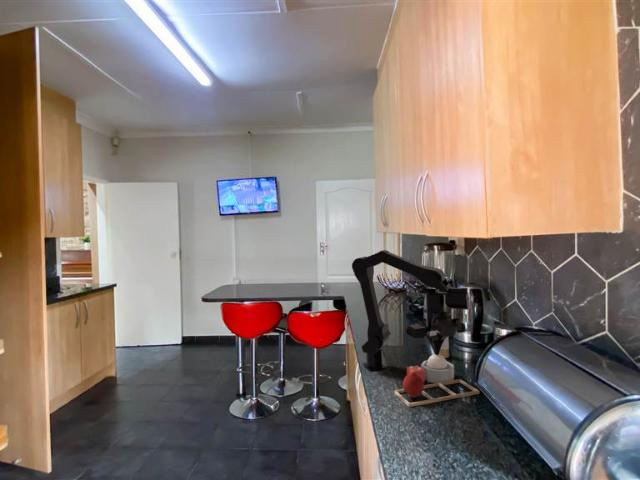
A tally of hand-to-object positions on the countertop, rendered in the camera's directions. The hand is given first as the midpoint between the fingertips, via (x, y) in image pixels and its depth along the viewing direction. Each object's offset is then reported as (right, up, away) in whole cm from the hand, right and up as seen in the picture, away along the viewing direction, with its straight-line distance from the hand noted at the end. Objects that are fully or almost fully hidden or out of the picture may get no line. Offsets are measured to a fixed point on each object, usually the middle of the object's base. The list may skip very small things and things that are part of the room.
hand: (436, 354), depth 119 cm
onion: (-11, -9, -13) cm, 19 cm away
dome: (0, -6, 0) cm, 6 cm away
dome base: (-2, -8, 0) cm, 8 cm away
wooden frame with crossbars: (-4, -8, -11) cm, 14 cm away
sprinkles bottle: (+8, -7, +19) cm, 21 cm away
